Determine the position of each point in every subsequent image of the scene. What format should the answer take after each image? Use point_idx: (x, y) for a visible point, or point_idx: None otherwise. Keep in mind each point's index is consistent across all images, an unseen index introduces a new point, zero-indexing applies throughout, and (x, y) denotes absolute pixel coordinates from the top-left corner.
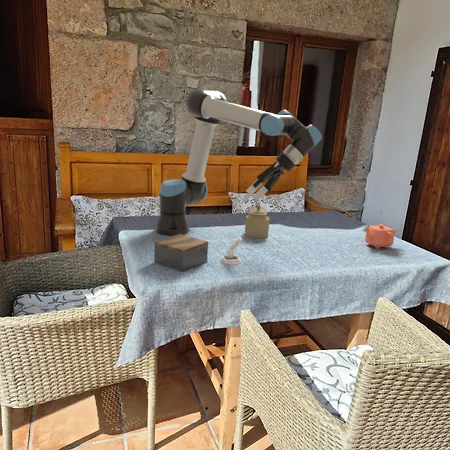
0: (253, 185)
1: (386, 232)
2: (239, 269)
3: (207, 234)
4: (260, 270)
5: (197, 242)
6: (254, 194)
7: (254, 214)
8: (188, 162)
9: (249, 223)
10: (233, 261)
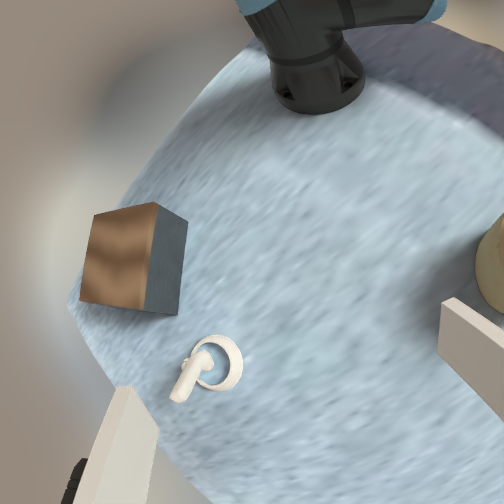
0: (84, 467)
1: None
2: (182, 407)
3: (378, 150)
4: (207, 454)
5: (121, 290)
6: (459, 315)
7: None
8: None
9: (491, 248)
10: (197, 381)
